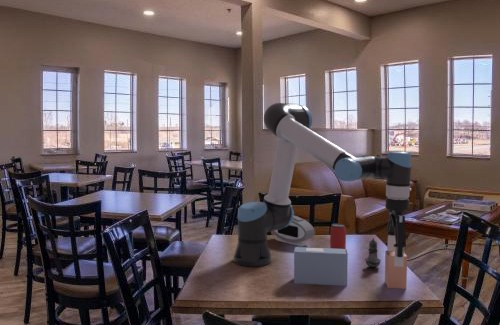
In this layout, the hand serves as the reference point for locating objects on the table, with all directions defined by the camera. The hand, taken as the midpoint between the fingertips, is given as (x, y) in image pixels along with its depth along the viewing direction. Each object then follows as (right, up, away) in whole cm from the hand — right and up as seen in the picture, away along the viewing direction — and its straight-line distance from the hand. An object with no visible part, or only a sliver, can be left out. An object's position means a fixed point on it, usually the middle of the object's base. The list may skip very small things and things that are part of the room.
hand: (394, 259), depth 143 cm
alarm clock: (-30, -5, +57) cm, 64 cm away
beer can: (-11, -6, +41) cm, 42 cm away
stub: (0, -9, 0) cm, 9 cm away
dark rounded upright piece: (-2, -8, +18) cm, 20 cm away
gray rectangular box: (-25, -9, +4) cm, 27 cm away
